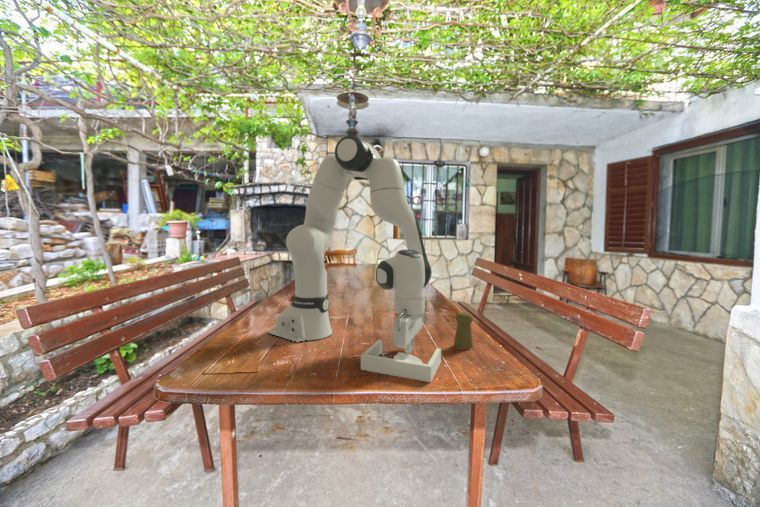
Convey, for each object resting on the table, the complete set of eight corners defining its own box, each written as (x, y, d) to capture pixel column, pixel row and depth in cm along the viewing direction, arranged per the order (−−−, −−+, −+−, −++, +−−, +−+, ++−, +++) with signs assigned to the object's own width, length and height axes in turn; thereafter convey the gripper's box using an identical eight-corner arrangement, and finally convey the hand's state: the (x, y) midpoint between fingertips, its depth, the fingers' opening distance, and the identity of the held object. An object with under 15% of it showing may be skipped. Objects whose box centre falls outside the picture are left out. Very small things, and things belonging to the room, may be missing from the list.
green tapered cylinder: (473, 350, 101) (474, 316, 100) (454, 349, 102) (454, 314, 101) (472, 343, 107) (473, 310, 106) (453, 342, 108) (454, 309, 107)
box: (360, 369, 88) (360, 355, 87) (378, 352, 100) (378, 339, 99) (430, 382, 81) (431, 366, 80) (440, 362, 93) (441, 348, 92)
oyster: (404, 374, 84) (404, 364, 84) (385, 359, 95) (386, 351, 95) (430, 371, 87) (431, 361, 87) (409, 357, 98) (410, 349, 98)
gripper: (409, 316, 84) (409, 367, 86) (427, 299, 103) (427, 341, 104) (387, 313, 87) (386, 363, 88) (408, 297, 106) (408, 338, 107)
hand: (408, 351), depth 96 cm, fingers closed
